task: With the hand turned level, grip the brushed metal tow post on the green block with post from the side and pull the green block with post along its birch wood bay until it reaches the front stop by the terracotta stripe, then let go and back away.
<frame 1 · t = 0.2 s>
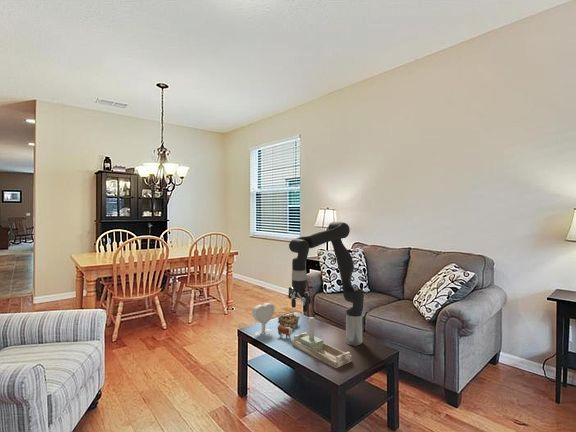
hand: (299, 309, 163), 28 cm above the table, tool pointing down, fingers open, 8 cm apart
bull figurine: (285, 339, 196), on the table
mineral formation: (290, 326, 217), on the table
heart sculpture: (263, 332, 206), on the table
bay: (320, 354, 175), on the table
green block with post: (311, 332, 180), point 10 cm above the table, slide at 0.0 cm
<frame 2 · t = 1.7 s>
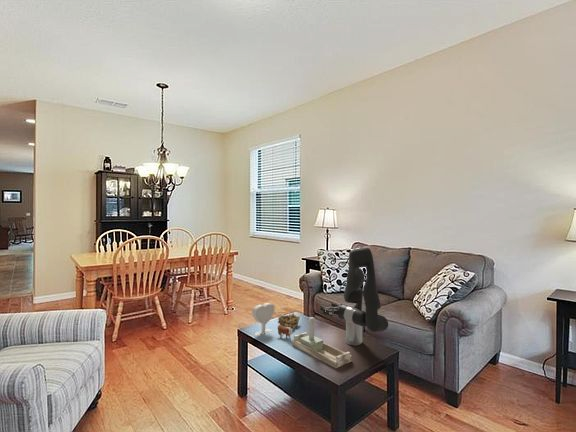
hand: (326, 306, 171), 28 cm above the table, tool horizontal, fingers open, 8 cm apart
nothing on the table moved.
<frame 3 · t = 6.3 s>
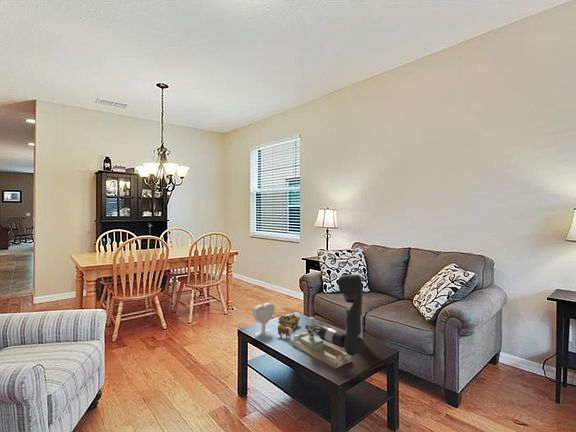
hand: (308, 325, 183), 13 cm above the table, tool horizontal, fingers closed on green block with post, 3 cm apart
green block with post: (311, 332, 180), point 10 cm above the table, slide at 0.0 cm, touching gripper
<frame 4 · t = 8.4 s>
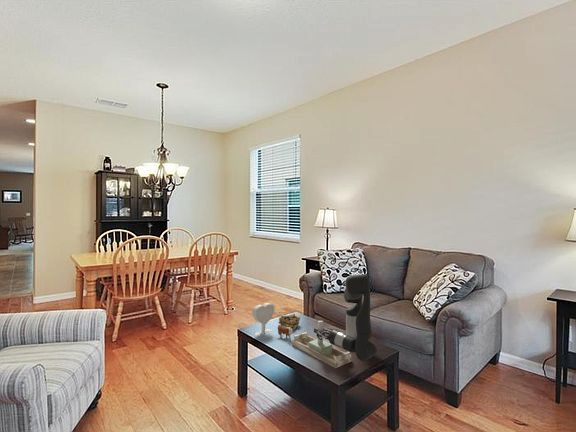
hand: (316, 329, 177), 13 cm above the table, tool horizontal, fingers closed on green block with post, 3 cm apart
green block with post: (320, 336, 175), point 10 cm above the table, slide at 6.9 cm, touching gripper
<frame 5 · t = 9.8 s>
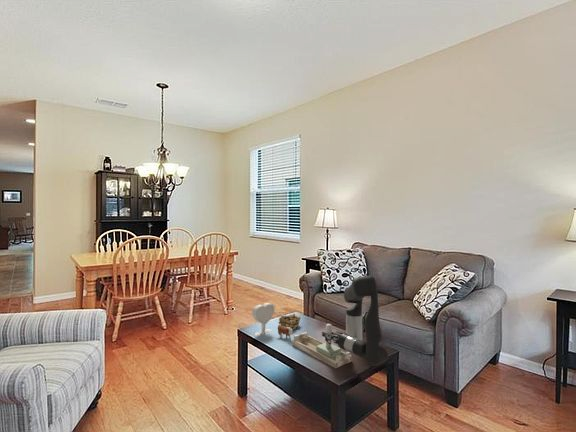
hand: (324, 332, 172), 13 cm above the table, tool horizontal, fingers closed on green block with post, 3 cm apart
green block with post: (328, 340, 170), point 10 cm above the table, slide at 13.2 cm, touching gripper
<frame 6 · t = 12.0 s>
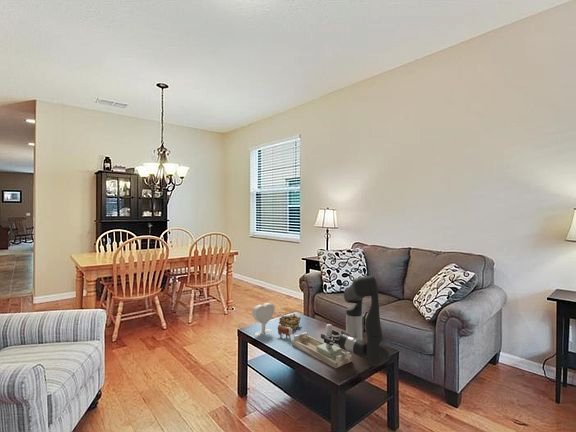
hand: (326, 333, 171), 13 cm above the table, tool horizontal, fingers open, 8 cm apart
green block with post: (329, 340, 170), point 10 cm above the table, slide at 13.5 cm
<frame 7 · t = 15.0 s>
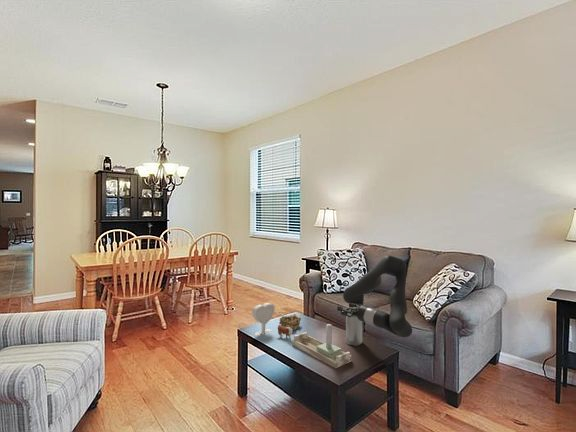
hand: (343, 306, 161), 31 cm above the table, tool horizontal, fingers open, 8 cm apart
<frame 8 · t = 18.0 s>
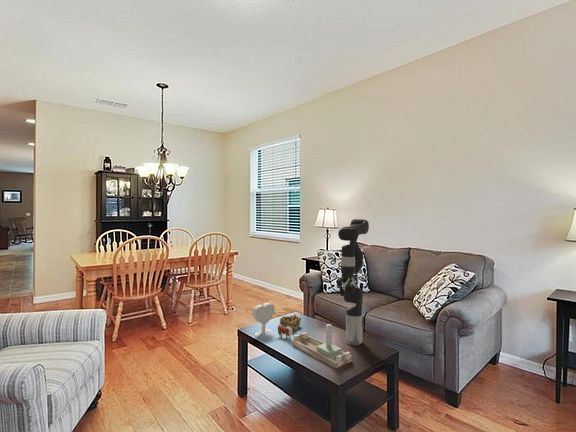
hand: (347, 294, 171), 34 cm above the table, tool pointing down, fingers open, 8 cm apart
at the end: green block with post slide at 13.5 cm; the gripper is holding nothing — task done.
